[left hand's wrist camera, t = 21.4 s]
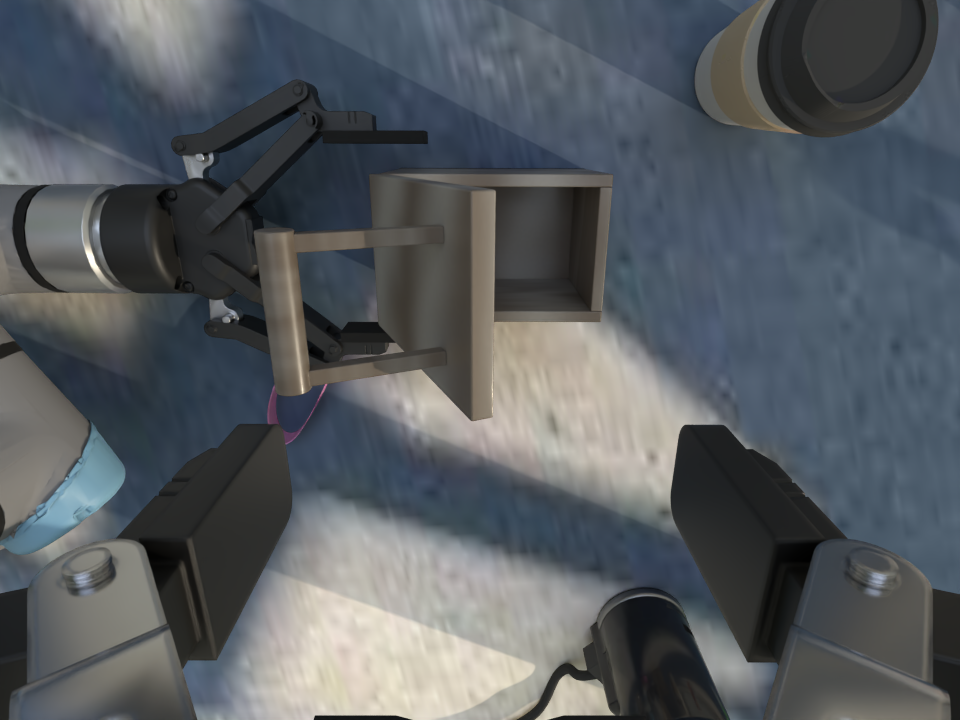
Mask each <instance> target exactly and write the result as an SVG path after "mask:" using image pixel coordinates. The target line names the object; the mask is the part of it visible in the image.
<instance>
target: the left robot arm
mask: <svg viewBox="0 0 960 720" xmlns="http://www.w3.org/2000/svg"><path fill="white" fill-rule="evenodd" d="M291 507H292V488H291V481H290V473H289V466H288V459H287V452H286V445H285V438H284V433H283V430H282V428H281V426H280V425H279V424H240V425H238V426H237V427H236V428H235V429H234V430H233V431H232V432H231V433H230V435H229V436H228V437H227V438H226V439H225V440H224V441H223V443H222V444H221V445H220V446H219V447H218V448H211V449H209V450H207V451H205V452H204V453H202V454H200V455H199V456H197V457H195V458H194V459H192V460H190V461H188V462H187V463H186V464H185V465H184V466H183V467H182V468H181V469H180V470H179V472H178V473H177V474H176V475H175V476H174V477H173V478H172V482H168V483H167V484H166V485H165V486H164V488H163V489H162V490H161V491H160V492H159V496H155V497H154V498H153V499H152V500H151V501H150V502H149V504H148V505H147V506H146V507H145V508H144V509H143V510H142V511H141V512H140V513H139V514H138V515H137V516H136V517H135V518H134V520H133V521H132V522H131V523H130V524H129V525H128V526H127V527H126V528H125V529H124V530H123V531H122V532H121V533H120V534H119V536H118V537H117V538H116V539H108V540H102V541H97V542H93V543H90V544H87V545H84V546H81V547H78V548H76V549H74V550H71V551H69V552H67V553H65V554H63V555H62V556H60V557H58V558H56V559H55V560H53V561H52V562H50V563H49V564H48V565H46V566H45V567H44V568H43V569H42V570H41V571H40V572H39V573H38V574H37V575H36V576H35V577H34V578H33V580H32V581H31V583H30V585H29V587H28V588H24V589H20V590H15V591H10V592H5V593H1V594H0V720H197V717H196V714H195V711H194V707H193V704H192V701H191V697H190V694H189V690H188V687H187V684H186V680H185V677H184V674H183V668H184V666H185V664H186V663H187V661H188V660H217V658H218V657H219V655H220V653H221V651H222V649H223V647H224V645H225V643H226V641H227V639H228V637H229V635H230V633H231V631H232V629H233V627H234V626H235V624H236V622H237V620H238V618H239V616H240V614H241V612H242V610H243V608H244V606H245V604H246V602H247V600H248V598H249V596H250V595H251V593H252V591H253V589H254V587H255V585H256V583H257V581H258V579H259V577H260V575H261V573H262V571H263V569H264V567H265V566H266V564H267V562H268V560H269V558H270V556H271V554H272V552H273V550H274V548H275V546H276V544H277V542H278V540H279V538H280V536H281V535H282V533H283V531H284V529H285V527H286V525H287V523H288V520H289V517H290V513H291ZM671 509H672V515H673V519H674V521H675V524H676V526H677V528H678V530H679V532H680V534H681V536H682V537H683V539H684V541H685V543H686V545H687V547H688V549H689V551H690V553H691V555H692V557H693V559H694V560H695V562H696V564H697V566H698V568H699V570H700V572H701V574H702V576H703V578H704V580H705V582H706V583H707V585H708V587H709V589H710V591H711V593H712V595H713V597H714V599H715V601H716V603H717V604H718V606H719V608H720V610H721V612H722V614H723V616H724V618H725V620H726V622H727V624H728V626H729V627H730V629H731V631H732V633H733V635H734V637H735V639H736V641H737V643H738V645H739V647H740V648H741V650H742V652H743V654H744V656H745V658H746V660H747V662H777V664H778V665H779V667H778V670H777V674H776V677H775V680H774V684H773V687H772V690H771V694H770V697H769V701H768V704H767V707H766V711H765V714H764V717H763V720H960V594H955V593H951V592H946V591H941V590H937V589H933V588H932V587H931V585H930V583H929V581H928V580H927V578H926V577H925V576H924V575H923V574H922V573H921V572H920V571H919V570H918V569H917V568H916V567H915V566H914V565H912V564H911V563H910V562H908V561H907V560H905V559H904V558H902V557H900V556H898V555H897V554H895V553H893V552H891V551H889V550H886V549H884V548H882V547H879V546H876V545H873V544H870V543H867V542H863V541H858V540H852V539H848V538H847V537H846V536H845V535H844V534H843V533H842V532H841V531H840V530H839V529H838V528H837V527H836V526H835V525H834V524H833V523H832V522H831V520H830V519H829V518H828V517H827V516H826V515H825V514H824V513H823V512H822V511H821V510H820V509H819V508H818V507H817V506H816V505H815V504H814V502H813V501H812V500H811V499H810V498H809V497H805V493H804V492H803V491H802V490H801V489H800V488H799V487H798V486H797V485H796V483H792V479H791V478H790V477H789V476H788V475H787V474H786V473H785V472H784V471H783V470H782V469H781V468H780V467H779V465H778V464H777V463H775V462H773V461H772V460H770V459H768V458H767V457H765V456H763V455H761V454H760V453H758V452H756V451H755V450H753V449H745V447H744V446H743V445H742V444H741V443H740V442H739V441H738V440H737V438H736V437H735V436H734V435H733V434H732V433H731V432H730V431H729V429H728V428H727V427H726V426H724V425H684V426H683V427H682V429H681V431H680V434H679V439H678V446H677V453H676V460H675V467H674V474H673V481H672V488H671ZM690 628H691V627H690V626H689V624H688V622H687V618H686V616H685V613H684V611H683V609H682V607H681V605H680V604H679V602H678V601H677V600H676V599H675V598H674V597H672V596H671V595H669V594H668V593H665V592H663V591H660V590H656V589H648V588H642V589H634V590H630V591H626V592H624V593H621V594H619V595H617V596H616V597H614V598H613V599H611V600H610V601H609V602H608V603H607V604H606V605H605V606H604V607H603V609H602V610H601V612H600V614H599V616H598V620H597V623H596V624H594V625H593V626H591V627H590V629H591V634H592V638H593V643H591V644H589V645H588V646H586V647H585V648H583V651H584V656H585V661H586V666H587V670H586V671H582V670H578V669H576V668H575V667H574V666H573V665H572V664H564V665H562V666H560V667H559V668H558V669H557V670H556V671H555V672H554V673H553V675H552V676H551V678H550V680H549V682H548V684H547V687H546V689H545V691H544V693H543V696H542V698H541V699H540V701H539V703H538V704H537V705H536V706H535V708H533V709H532V710H531V711H530V712H528V713H527V714H525V715H524V716H522V717H521V718H519V719H517V720H535V719H536V718H537V717H538V716H539V715H540V714H541V713H542V712H543V711H544V709H545V708H546V706H547V705H548V703H549V701H550V699H551V697H552V695H553V692H554V690H555V688H556V686H557V684H558V682H559V680H560V679H561V678H562V677H563V676H564V675H566V674H570V675H571V676H572V677H573V678H574V679H576V680H581V681H586V680H593V679H598V680H599V681H600V682H601V683H602V684H603V686H604V690H605V694H606V699H607V703H608V707H609V709H610V711H611V712H612V713H613V714H615V715H616V716H560V717H557V718H553V719H549V720H730V718H729V716H728V714H727V711H726V709H725V707H724V705H723V702H722V700H721V698H720V695H719V693H718V691H717V689H716V686H715V684H714V682H713V680H712V677H711V675H710V673H709V670H708V668H707V666H706V664H705V661H704V659H703V657H702V654H701V652H700V650H699V648H698V645H697V644H698V643H696V641H695V639H694V637H693V634H692V632H691V630H690ZM314 720H411V719H407V718H403V717H400V716H315V717H314Z"/></svg>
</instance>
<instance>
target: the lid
mask: <svg viewBox="0 0 960 720" xmlns="http://www.w3.org/2000/svg"><path fill="white" fill-rule="evenodd" d="M369 183H370V199H371V215H372V228H360V229H340V230H321V231H302V232H294V229H291V228H264V229H258V230H255V231H254V239H255V246H256V254H257V261H258V268H259V275H260V283H261V290H262V297H263V304H264V312H265V319H266V326H267V333H268V341H269V348H270V355H271V362H272V369H273V377H274V384H275V391H276V393H277V394H279V395H282V396H297V395H301V394H304V393H307V392H308V391H310V390H311V388H312V386H316V385H323V384H329V383H335V382H342V381H348V380H355V379H361V378H367V377H374V376H380V375H386V374H393V373H399V372H405V371H412V370H418V369H422V370H423V371H424V372H425V373H426V375H427V376H428V377H429V378H430V379H431V380H432V381H433V382H434V383H435V384H436V385H437V386H438V387H439V388H440V389H441V390H442V391H443V392H444V393H445V394H446V395H447V396H448V397H449V398H450V399H451V401H452V402H453V403H454V404H455V405H456V406H457V407H458V408H459V409H460V410H461V411H462V412H463V413H464V414H465V415H466V416H467V417H468V418H469V419H470V420H471V421H476V420H481V419H486V418H491V417H493V363H494V285H495V206H496V191H495V190H494V189H487V188H480V187H473V186H466V185H459V184H452V183H445V182H438V181H431V180H424V179H417V178H410V177H403V176H396V175H389V174H370V175H369ZM362 248H374V262H375V277H376V293H377V309H378V324H379V326H380V327H381V328H382V329H383V330H384V331H385V332H386V333H387V334H388V335H389V336H390V337H391V338H392V339H393V340H394V341H395V342H396V343H397V344H398V345H399V346H400V347H401V349H402V350H403V351H404V352H401V353H394V354H387V355H380V356H373V357H366V358H359V359H352V360H345V361H338V362H331V363H324V364H317V365H309V356H308V347H307V338H306V329H305V321H304V312H303V303H302V294H301V285H300V276H299V267H298V258H297V253H301V252H316V251H331V250H346V249H362Z"/></svg>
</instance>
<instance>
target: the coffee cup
mask: <svg viewBox="0 0 960 720" xmlns="http://www.w3.org/2000/svg"><path fill="white" fill-rule="evenodd" d="M937 34H938V8H937V2H936V0H760V1H758V2H757V3H755V4H754V5H753V6H751V7H750V8H748V9H747V10H746V11H744V12H743V13H742V14H740V15H739V16H738V17H737V18H736V19H735V20H733V21H732V23H731V24H730V25H729V26H728V27H726V28H725V29H723V30H722V31H721V32H719V33H718V34H717V35H716V36H714V37H713V38H712V39H711V40H710V42H709V43H708V44H707V45H706V47H705V48H704V50H703V52H702V53H701V55H700V58H699V60H698V63H697V67H696V71H695V90H696V95H697V98H698V100H699V103H700V105H701V106H702V108H703V109H704V111H705V112H706V113H707V114H708V115H709V116H710V117H712V118H713V119H715V120H716V121H718V122H721V123H724V124H729V125H739V126H744V127H748V128H753V129H761V130H770V131H779V132H787V133H796V134H805V135H809V136H814V137H835V136H841V135H845V134H849V133H852V132H855V131H859V130H862V129H865V128H868V127H870V126H872V125H875V124H877V123H878V122H880V121H882V120H884V119H885V118H887V117H888V116H890V115H891V114H892V113H894V112H895V111H896V110H897V109H898V108H899V107H900V106H902V105H903V104H904V103H905V101H906V100H907V99H908V98H909V97H910V96H911V95H912V93H913V92H914V91H915V89H916V88H917V87H918V85H919V83H920V82H921V80H922V79H923V77H924V75H925V73H926V71H927V69H928V67H929V64H930V62H931V59H932V56H933V53H934V50H935V46H936V41H937Z"/></svg>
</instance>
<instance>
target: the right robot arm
mask: <svg viewBox="0 0 960 720" xmlns="http://www.w3.org/2000/svg"><path fill="white" fill-rule="evenodd" d="M298 111H299V112H300V114H301V117H300V118H299V119H298V120H297V121H296V122H295V123H294V124H293V125H292V126H291V127H290V128H289V129H288V130H287V131H286V132H285V133H284V134H283V136H282V137H281V138H280V139H279V140H278V141H277V142H276V143H275V144H274V145H273V146H272V147H271V148H270V149H269V150H268V151H267V152H266V153H265V154H264V155H263V156H262V157H261V158H260V159H259V160H258V161H257V162H256V163H255V164H254V165H253V166H252V167H251V168H250V169H249V170H248V171H247V172H246V173H245V174H244V175H243V176H242V177H241V178H240V179H238V180H237V181H235V182H234V183H233V184H232V185H230V186H229V188H228V189H227V188H226V187H224V186H223V185H221V184H220V183H218V182H217V181H215V180H214V179H212V178H209V170H210V168H211V167H213V166H215V165H217V164H218V162H219V159H220V158H219V153H222V152H226V151H229V150H231V149H233V148H235V147H237V146H239V145H241V144H242V143H244V142H246V141H248V140H249V139H251V138H253V137H255V136H256V135H258V134H260V133H262V132H263V131H265V130H267V129H269V128H270V127H272V126H274V125H276V124H277V123H279V122H281V121H282V120H284V119H286V118H288V117H289V116H291V115H293V114H295V113H296V112H298ZM322 135H323V143H349V144H428V136H427V132H426V131H377V130H376V116H374V115H372V114H370V113H367V112H364V111H327V110H325V109H324V108H323V106H322V105H321V102H320V100H319V98H318V92H317V89H316V88H315V86H313V85H312V84H309V83H307V82H304V81H301V80H297V79H296V80H293V81H291V82H289V83H288V84H286V85H284V86H283V87H281V88H279V89H277V90H276V91H274V92H272V93H271V94H269V95H267V96H265V97H264V98H262V99H260V100H259V101H257V102H255V103H254V104H252V105H250V106H248V107H247V108H245V109H243V110H242V111H240V112H238V113H236V114H235V115H233V116H231V117H230V118H228V119H226V120H224V121H223V122H221V123H219V124H218V125H216V126H214V127H212V128H211V129H209V130H207V131H206V132H204V133H199V134H191V135H183V136H177V137H174V138H173V140H172V142H171V146H172V149H173V151H174V152H175V153H176V154H178V155H180V156H182V157H183V160H184V164H185V167H186V171H187V175H188V178H189V180H187V181H186V182H184V183H182V184H179V185H147V184H125V185H121V186H119V187H118V186H115V185H113V184H53V185H40V186H37V185H0V296H1V295H6V294H13V293H43V292H65V293H129V292H132V291H133V292H136V293H195V294H199V295H202V296H205V297H206V298H208V299H209V304H210V321H208V322H207V323H206V324H205V325H204V330H205V332H206V334H207V335H209V336H211V337H218V338H227V339H236V340H238V341H241V342H243V343H245V344H247V345H250V346H252V347H254V348H256V349H259V350H261V351H263V352H265V353H268V354H270V348H269V341H268V333H267V326H266V322H265V321H263V320H261V319H259V318H256V317H253V316H250V315H245V314H243V310H242V309H241V308H239V307H236V306H234V305H232V304H231V303H230V302H229V300H228V296H230V295H232V294H233V293H234V292H235V291H238V292H239V293H240V294H242V295H243V296H244V297H246V298H247V299H249V300H250V301H252V302H257V303H259V304H260V305H262V306H263V307H264V304H263V297H262V290H261V283H260V275H259V268H258V261H257V254H256V246H255V239H254V231H255V230H258V229H264V226H263V218H262V216H259V214H258V212H257V211H256V209H255V208H254V207H253V206H254V205H255V204H256V203H257V202H258V201H259V200H260V199H261V198H262V197H263V196H264V195H265V193H266V191H267V190H268V189H269V188H270V187H271V186H272V185H273V184H274V183H275V182H276V181H277V180H278V179H279V178H280V177H281V176H282V175H283V174H284V173H285V172H286V171H287V170H288V169H289V168H290V167H291V166H292V165H293V164H294V163H295V162H296V161H297V160H298V159H299V158H300V157H301V156H302V155H303V154H304V153H305V152H306V151H307V150H308V149H309V148H310V147H311V146H312V145H313V144H314V143H315V142H316V141H317V140H318V139H319V138H320V137H321V136H322ZM302 303H303V312H304V321H305V329H306V338H307V339H308V340H309V341H308V340H307V347H308V356H309V365H317V364H324V363H331V362H338V361H342V358H343V356H344V355H348V354H370V355H371V354H372V355H380V354H382V353H385V352H386V351H387V349H388V347H389V343H396V342H395V341H394V340H393V339H392V338H391V337H390V336H389V335H388V334H387V333H386V332H385V331H384V330H383V329H382V328H381V327H380V326H379V324H378V322H348V323H347V325H346V326H345V327H344V329H343V330H341V329H339V328H338V327H337V326H335V325H334V324H333V323H331V322H330V321H329V320H327V319H326V318H325V317H323V316H322V315H321V314H319V313H318V312H317V311H315V310H314V309H313V308H311V307H310V306H309V305H307V304H306V303H305V302H303V301H302ZM124 479H125V468H124V465H123V464H122V462H121V461H120V460H119V458H118V457H117V456H116V454H115V453H114V452H113V450H112V449H111V448H110V447H109V445H108V444H107V443H106V441H105V440H104V439H103V437H102V436H101V435H100V434H99V432H98V431H97V429H96V426H95V425H94V424H93V422H91V421H89V420H88V419H86V418H85V417H84V416H83V415H82V414H81V413H80V412H79V411H78V410H77V409H76V408H75V406H74V405H73V404H72V403H71V402H70V401H69V400H68V399H67V398H66V397H65V396H64V395H63V394H62V392H61V391H60V390H59V389H58V388H57V387H56V386H55V385H54V384H53V383H52V382H51V381H50V380H49V378H48V377H47V376H46V375H45V374H44V373H43V372H42V371H41V370H40V369H39V368H38V367H37V366H36V364H35V363H34V362H33V361H32V360H31V359H30V358H29V357H28V356H27V355H26V354H25V353H24V352H23V350H22V348H21V347H20V346H19V345H18V344H17V343H16V341H15V340H14V339H13V338H12V337H11V336H10V335H9V334H8V332H7V331H6V330H5V329H4V328H3V327H2V326H1V325H0V550H2V549H4V548H6V549H7V550H9V551H10V552H12V553H14V554H18V555H24V554H30V553H33V552H35V551H37V550H39V549H42V548H43V547H45V546H47V545H49V544H50V543H52V542H54V541H55V540H57V539H58V538H60V537H61V536H63V535H64V534H66V533H68V532H69V531H70V530H72V529H73V528H75V527H76V526H77V525H79V524H80V523H81V522H82V521H83V520H84V519H85V518H87V517H88V516H90V515H91V514H92V513H94V512H96V511H97V510H98V509H99V508H101V507H102V506H103V505H104V504H105V503H106V502H107V501H109V500H110V499H111V498H112V497H113V496H114V495H115V494H116V493H117V491H118V490H119V489H120V487H121V486H122V484H123V482H124Z"/></svg>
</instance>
